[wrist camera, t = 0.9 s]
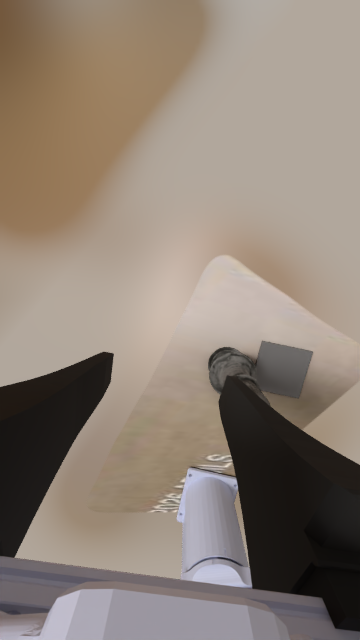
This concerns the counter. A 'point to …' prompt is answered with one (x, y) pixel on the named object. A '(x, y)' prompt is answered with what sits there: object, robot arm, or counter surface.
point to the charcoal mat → (282, 368)
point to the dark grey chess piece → (233, 370)
